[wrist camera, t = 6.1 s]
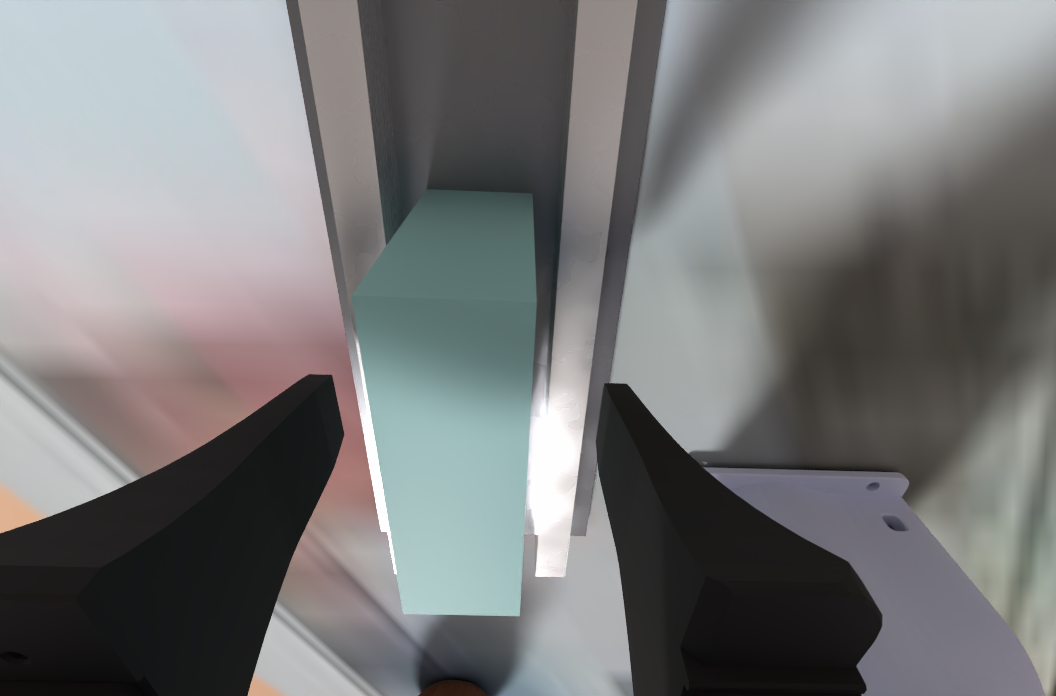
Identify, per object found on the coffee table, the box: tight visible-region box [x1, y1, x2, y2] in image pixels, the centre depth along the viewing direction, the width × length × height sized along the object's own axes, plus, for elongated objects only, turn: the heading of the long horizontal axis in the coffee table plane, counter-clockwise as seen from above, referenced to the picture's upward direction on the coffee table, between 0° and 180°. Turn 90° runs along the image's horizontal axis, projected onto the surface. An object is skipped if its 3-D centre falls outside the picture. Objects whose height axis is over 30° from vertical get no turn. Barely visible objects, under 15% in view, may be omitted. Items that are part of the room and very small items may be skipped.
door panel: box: [351, 189, 537, 616], centre depth 13 cm, size 3×9×7 cm, turn 178°
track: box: [286, 0, 667, 577], centre depth 15 cm, size 9×22×3 cm, turn 178°
